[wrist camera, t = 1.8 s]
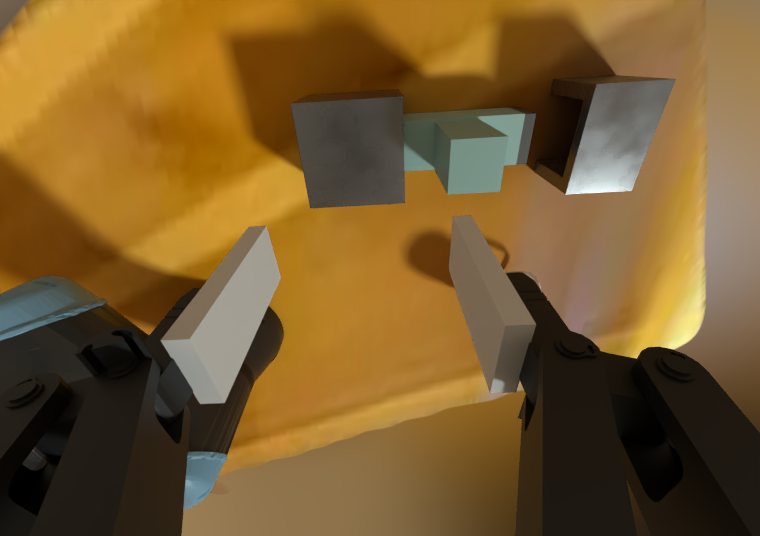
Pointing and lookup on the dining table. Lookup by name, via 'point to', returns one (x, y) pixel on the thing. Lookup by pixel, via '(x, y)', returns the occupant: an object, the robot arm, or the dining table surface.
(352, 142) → the gray block
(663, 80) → the socket
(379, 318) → the dining table surface
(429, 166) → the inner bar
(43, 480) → the robot arm
